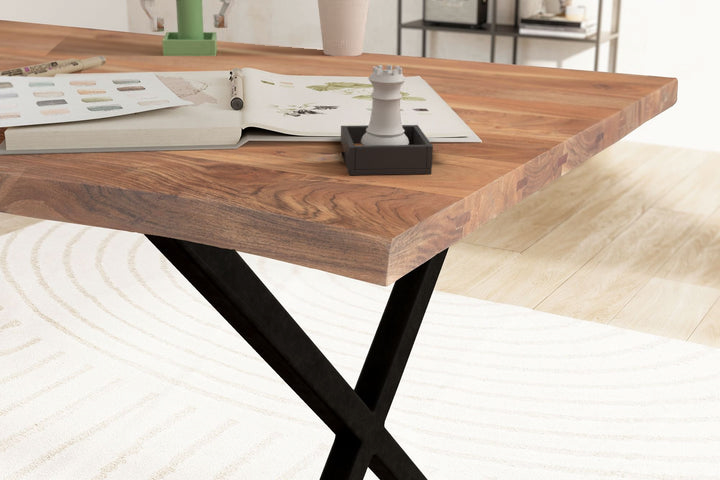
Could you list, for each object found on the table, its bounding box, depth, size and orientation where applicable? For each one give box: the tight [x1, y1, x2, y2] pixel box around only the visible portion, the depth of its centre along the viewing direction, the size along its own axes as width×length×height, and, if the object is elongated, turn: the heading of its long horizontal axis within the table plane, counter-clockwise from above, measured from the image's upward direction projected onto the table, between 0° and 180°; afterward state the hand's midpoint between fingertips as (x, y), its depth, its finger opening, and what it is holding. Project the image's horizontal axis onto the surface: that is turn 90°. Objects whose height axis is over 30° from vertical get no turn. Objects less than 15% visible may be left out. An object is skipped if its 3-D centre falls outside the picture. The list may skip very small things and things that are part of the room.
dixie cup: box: [317, 0, 370, 57], centre depth 128 cm, size 8×8×10 cm
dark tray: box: [340, 124, 434, 176], centre depth 79 cm, size 7×7×2 cm
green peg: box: [175, 0, 204, 40], centre depth 125 cm, size 4×4×8 cm
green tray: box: [161, 31, 218, 57], centre depth 127 cm, size 7×7×2 cm
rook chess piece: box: [360, 64, 410, 146], centre depth 78 cm, size 4×4×8 cm
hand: (189, 29), depth 126 cm, fingers open, 8 cm apart
